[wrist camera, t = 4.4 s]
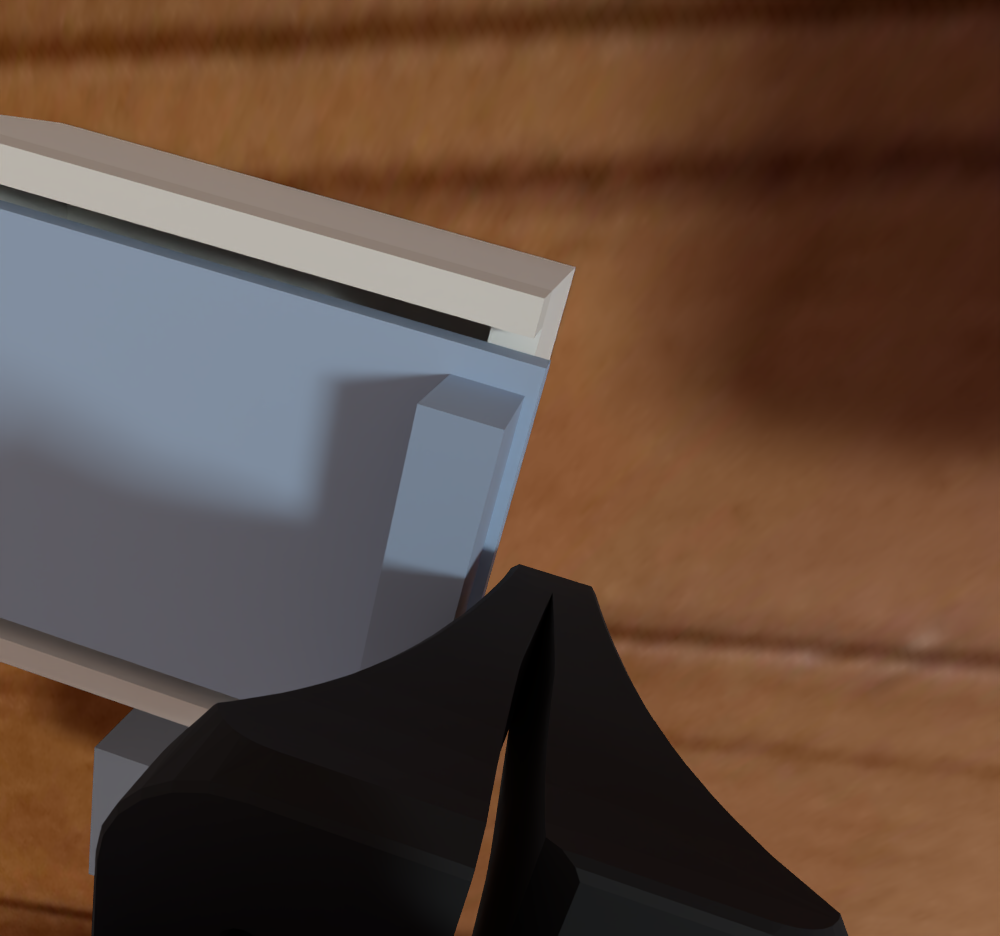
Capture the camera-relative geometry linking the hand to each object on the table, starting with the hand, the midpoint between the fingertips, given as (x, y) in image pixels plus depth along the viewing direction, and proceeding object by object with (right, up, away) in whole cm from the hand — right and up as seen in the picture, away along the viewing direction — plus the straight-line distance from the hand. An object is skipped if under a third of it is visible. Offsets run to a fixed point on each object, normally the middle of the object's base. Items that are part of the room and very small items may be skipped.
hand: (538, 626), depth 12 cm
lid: (-6, +2, +2) cm, 7 cm away
